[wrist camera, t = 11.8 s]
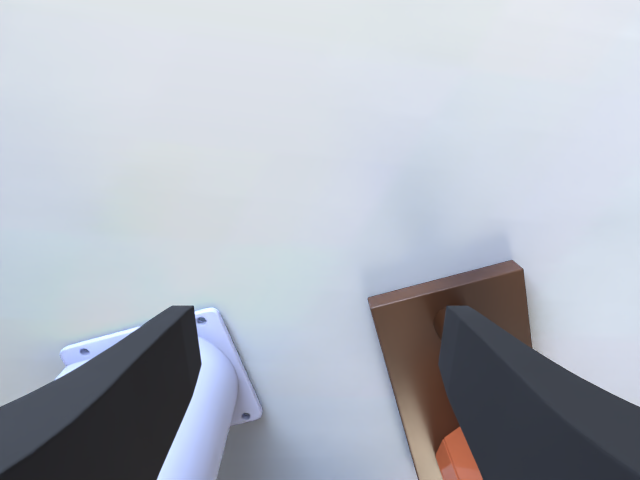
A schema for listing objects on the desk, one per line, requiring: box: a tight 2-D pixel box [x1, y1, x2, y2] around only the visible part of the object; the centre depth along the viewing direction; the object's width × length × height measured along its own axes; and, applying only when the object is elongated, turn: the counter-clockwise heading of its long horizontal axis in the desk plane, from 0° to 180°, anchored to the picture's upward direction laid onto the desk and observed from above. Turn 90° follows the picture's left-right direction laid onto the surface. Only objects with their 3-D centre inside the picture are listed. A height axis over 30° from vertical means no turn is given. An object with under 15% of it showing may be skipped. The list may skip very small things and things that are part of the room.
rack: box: [368, 260, 532, 480], centre depth 20 cm, size 8×14×7 cm, turn 16°
